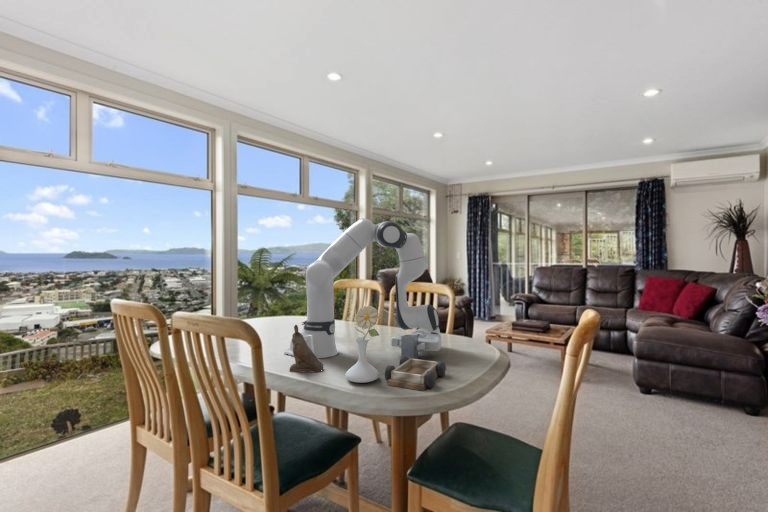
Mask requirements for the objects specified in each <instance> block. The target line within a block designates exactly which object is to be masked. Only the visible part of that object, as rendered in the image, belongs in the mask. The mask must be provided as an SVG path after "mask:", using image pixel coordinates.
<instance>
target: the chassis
mask: <svg viewBox="0 0 768 512" xmlns="http://www.w3.org/2000/svg"><path fill="white" fill-rule="evenodd" d="M398 364H399V365H398V366H397V367H395V366H394V365H391V364H388V365H387V366H386V367H385V371H384V379H385V381H386V382H387V386H390V387H391V386H392V387H396V388H403V389H409V390H413V391H414V390H415V391H420V392H421V391H422V392H425V390H427V388H430V389H433V388H434V386H435V383H436V379H437V378H438V377H443V378H444V377H445V375H446V372H447V371H446V370H447V367H446V366H447V365H446V362H445V361H443V360H438V361H435V360H427V359H426V360H425V359H419V358H418V359H412V358H410V359H409V360H408V357H404V356H402V357H400V358H399V363H398Z"/></svg>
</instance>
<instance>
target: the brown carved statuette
mask: <svg viewBox="0 0 768 512" xmlns="http://www.w3.org/2000/svg"><path fill="white" fill-rule="evenodd" d="M293 329H294V332H293V333H292V338H291V340H292V342H293V354H294V356H293V357H294V360H295V362H294V363H293V364H292V365H290V367H289V371H321V370H323V371H324V369H323V368H324V364H323V363H322V361H320V359H319V358H317V357H316V356H315V355H314V353H313V352H312V351H311V349H310V348H309V347H308V345H307V343H306V341H305V339H304V337H303V336H302V334H301V333H299V332H300V331H299V326H298V325H297V324H295V325H294V327H293ZM321 372H322V371H321Z"/></svg>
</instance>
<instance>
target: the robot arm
mask: <svg viewBox="0 0 768 512" xmlns="http://www.w3.org/2000/svg"><path fill="white" fill-rule="evenodd" d="M371 243H375V244H377V245H379V246H381V247H382V248H389V249H392V248H393V249H395V250H396V252H397V254H398V260H399V269H398V270H399V271H398V272H396V274H395V281H394V284H395V286H394V288H395V306H396V307H395V308H396V310H395V320H396V325H397V326H398V327H399V328H400V329H402V330H405V331H406V330H412V329H416V330H413V332H412V333H411V334H410V335H416V336H418V345H415V350H418V352H424V351H430V352H431V351H432V352H440V350H442V335H441V331H440V327H439V326H440V316H439V315H440V314H439V312H438V311H437V309H436V308H435V307H434V305H432V304H430V303H429V304H422V305H421V304H420V305H414V306H413V305H412V306H411V305H410V306H409V305H408V301H407V298H408V295H407V287H408V285H410V283H412V282H414V281H416V280H417V279H418V278H420V277H421V276H422V275H423V274H424V272H425V271H426V269H427V264H426V263H427V262H426V256H425V253H424V248H423V246H422V243H421V241H420V238H419V236H418V235H417V234H415V233H413V232H405V230H404V229H403V228H402V226H400V225H399V224H398V223H397V222H395V221H391V220H390V221H389V220H387V221H382V222H379V223H376V224H375V223H373V221H371V220H370V219H368V218H359V219H358V220H357V221H355V222H353V223H352V224H351V225H350V226H349V227H347V228H346V229H345V230H344V231H343V232H342V233H341V234H340V235H339V236H338V237H337V238H336V239H335V240H334V241H333V242H332V243H331V244H330V245H329V246H328V247H327V249H326V250H325V251H324V252H322V253H321V255H320V256H318V258H317V259H316V260H315V261H314V262H311V263H310V264H309V265H308V266H307V268H306V270H305V289H306V320H305V321H302V322H301V326H303V329H302V330H300V331H298V332H299V333H301V334H302V336H303V337H304V339H305V341H306V343H307V345H308V347H309V348H310V349H311V351H312V352H313V353H314V355H315V356H316V357H317V358H318V359H325V358H331V357H333V356H336V355H337V354H338V353H339V352H338V348H337V343H336V337H335V332H336V331H335V329H336V319H335V306H334V305H335V303H334V302H335V298H334V297H335V296H334V295H335V294H334V293H335V292H334V288H335V287H334V279H335V278H337V277H338V276H339V274H340V273H342V271H344V269H345V268H346V267H347V266H349V265H350V264H351V263H352V262H353V261H354V260H355V258H356V257H358V256H359V255H360V254H361V253H362V252H363V251H364V249H366V247H367V246H369V244H371ZM404 335H405V334H397V335H393V336H392V337H391V338H390V345H391V346H392V347H395V348H400V349H401V337H402V336H404ZM283 353H284V355H287V354H288V355H289V356H291V355H292V356H293V357H294V354H293V342H292V339H291V341H290V345H289V348H287V349H285V350H284V352H283ZM288 355H287V356H288ZM292 356H291V357H292Z"/></svg>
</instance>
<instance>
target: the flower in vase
mask: <svg viewBox="0 0 768 512" xmlns="http://www.w3.org/2000/svg"><path fill="white" fill-rule="evenodd" d="M378 311H379V310H378V309H377V308H376V307H374V306H371V305H367V306H363V307H362V308H361V307H360V308H359V310H358V311H356V314H355V316H354V319H355V324H356V326H357V327H359V328H362V329H363V330H367V329H368V330H367V331H366V334H365V333H364V331H361V330H360V329H358V328H357V327H356V326H355V330H356V331H358V332H360V333H361V334H363V335H364V336H357V337H355V338H354V340H355V341H356V344H357V347H358V360H357V361H356V363H355V364H353V365H352V366H351V367H349V369H347V371H346V372H345V374H344V377H345V378H346V380H348V381H350V382H353V383H358V384H359V383H363V384H364V383H365V384H366V383H370V382H374V381H375V380H377V379H379V378H380V375H381V373H380V372H379V370H377V368H375V367H374V366H373V365H372V364H370V363H369V362H368V360H367V356H366V355H367V347H368V346H367V345H368V343H369V341H370V340H371V337H377V336H380V334H379V332H378V331H377V330H376V329H375V328H372V327H374V326H375V325H376V323H377V322H378V320H379V318H380V316H379V312H378ZM371 328H372V329H371ZM368 334H369V336H370V337H368V336H367V335H368Z"/></svg>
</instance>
